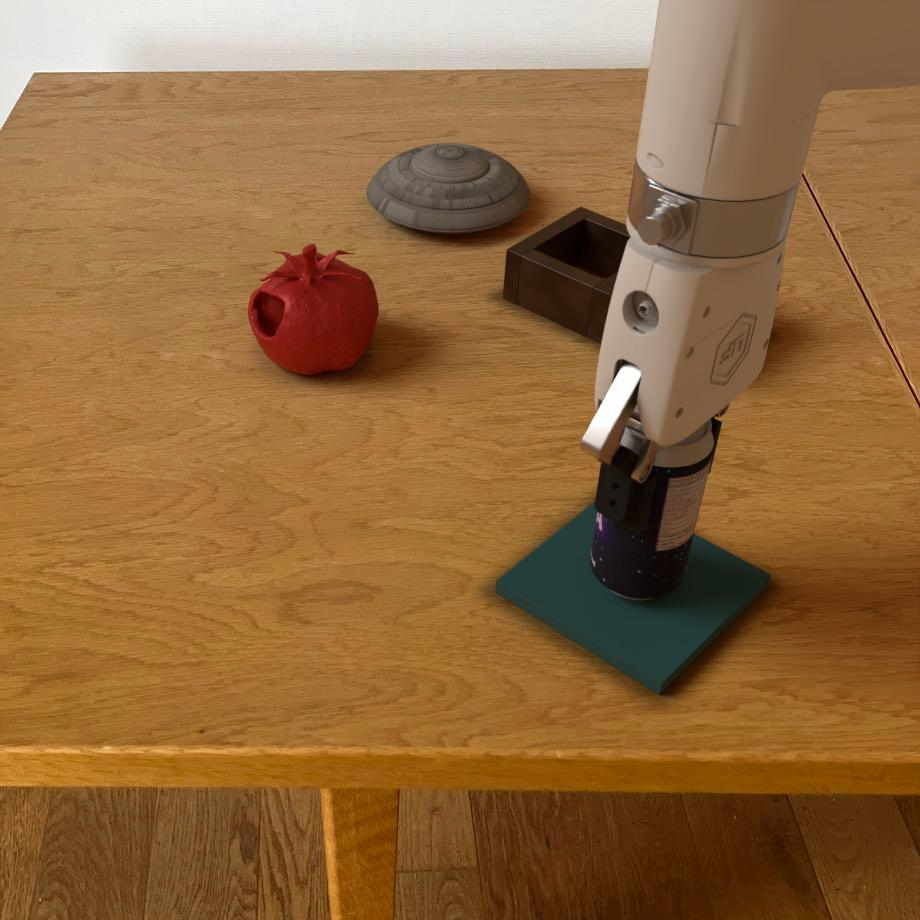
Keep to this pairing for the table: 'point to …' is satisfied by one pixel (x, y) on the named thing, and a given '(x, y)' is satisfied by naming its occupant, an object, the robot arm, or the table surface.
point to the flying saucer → (448, 189)
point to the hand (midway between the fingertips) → (652, 490)
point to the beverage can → (656, 522)
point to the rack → (568, 270)
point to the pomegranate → (314, 313)
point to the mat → (632, 603)
